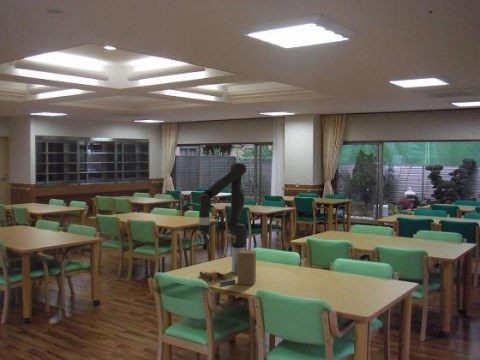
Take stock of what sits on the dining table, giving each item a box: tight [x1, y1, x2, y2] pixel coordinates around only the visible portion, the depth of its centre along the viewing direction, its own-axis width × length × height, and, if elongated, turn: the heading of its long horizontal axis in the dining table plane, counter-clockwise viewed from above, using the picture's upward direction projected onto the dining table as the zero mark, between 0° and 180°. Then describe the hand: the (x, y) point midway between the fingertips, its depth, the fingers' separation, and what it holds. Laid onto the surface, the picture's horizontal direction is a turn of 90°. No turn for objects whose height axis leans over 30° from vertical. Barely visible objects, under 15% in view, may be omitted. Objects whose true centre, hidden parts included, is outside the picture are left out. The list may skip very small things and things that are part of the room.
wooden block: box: [237, 249, 257, 286], centre depth 297 cm, size 10×10×20 cm
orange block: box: [204, 269, 218, 280], centre depth 313 cm, size 6×6×4 cm
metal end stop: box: [219, 279, 236, 287], centre depth 294 cm, size 10×2×2 cm, turn 121°
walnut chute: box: [199, 269, 225, 282], centre depth 312 cm, size 10×16×3 cm, turn 31°
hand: (204, 249), depth 320 cm, fingers closed
